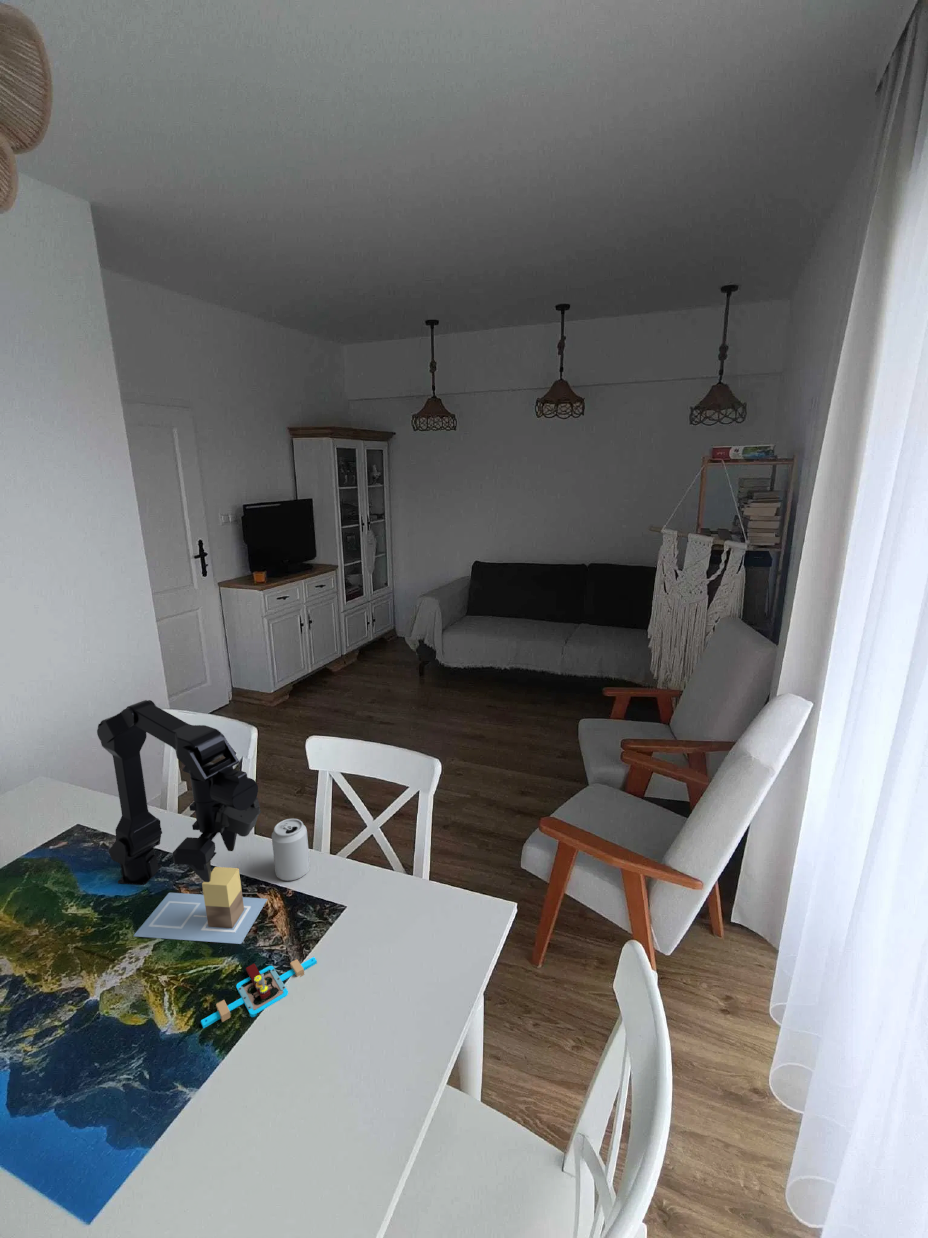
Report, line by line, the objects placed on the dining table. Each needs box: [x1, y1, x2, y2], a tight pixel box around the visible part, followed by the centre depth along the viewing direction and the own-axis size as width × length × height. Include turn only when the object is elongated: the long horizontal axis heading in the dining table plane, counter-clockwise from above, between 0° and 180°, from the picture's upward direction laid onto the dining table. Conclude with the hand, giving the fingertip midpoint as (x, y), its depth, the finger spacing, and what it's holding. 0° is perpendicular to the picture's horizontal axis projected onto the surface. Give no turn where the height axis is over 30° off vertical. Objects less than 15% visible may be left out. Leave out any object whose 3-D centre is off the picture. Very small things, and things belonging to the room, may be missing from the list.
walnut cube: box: [205, 888, 244, 928], centre depth 116 cm, size 5×5×5 cm
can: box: [271, 818, 311, 882], centre depth 129 cm, size 8×8×12 cm
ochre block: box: [201, 866, 242, 907], centre depth 115 cm, size 5×5×5 cm
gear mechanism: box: [200, 956, 318, 1029], centre depth 101 cm, size 20×5×9 cm
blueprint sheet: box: [133, 892, 268, 945], centre depth 117 cm, size 22×12×1 cm, turn 84°
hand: (219, 865), depth 114 cm, fingers open, 9 cm apart
